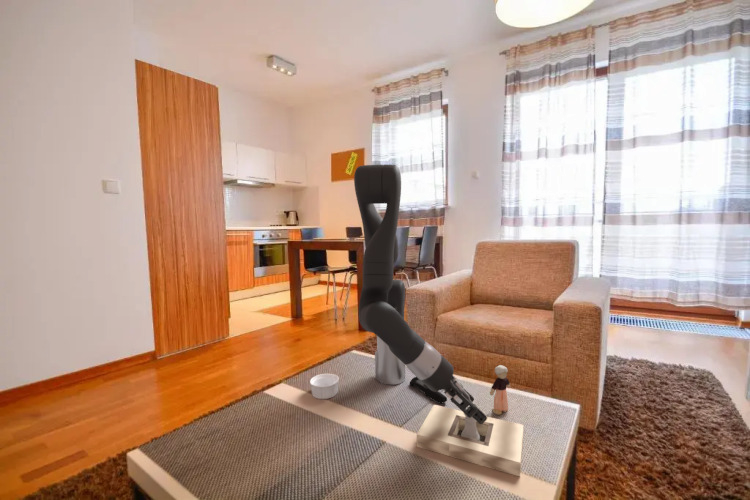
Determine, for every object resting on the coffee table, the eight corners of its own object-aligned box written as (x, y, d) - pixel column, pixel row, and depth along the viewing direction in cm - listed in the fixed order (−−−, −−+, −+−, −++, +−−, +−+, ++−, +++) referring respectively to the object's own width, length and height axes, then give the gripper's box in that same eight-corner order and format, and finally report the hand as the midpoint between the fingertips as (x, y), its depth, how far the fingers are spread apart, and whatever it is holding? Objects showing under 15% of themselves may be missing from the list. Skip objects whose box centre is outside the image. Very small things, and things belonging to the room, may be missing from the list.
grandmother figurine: (500, 418, 88) (501, 372, 87) (487, 412, 91) (487, 367, 90) (514, 407, 93) (515, 363, 92) (501, 402, 96) (502, 359, 95)
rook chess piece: (483, 441, 79) (484, 408, 79) (474, 451, 76) (475, 417, 75) (466, 433, 82) (466, 402, 82) (457, 442, 79) (457, 409, 78)
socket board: (416, 446, 78) (416, 434, 78) (434, 415, 90) (434, 404, 90) (520, 476, 68) (520, 462, 68) (523, 436, 81) (523, 424, 80)
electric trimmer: (439, 409, 94) (440, 398, 94) (408, 385, 108) (408, 376, 107) (450, 405, 96) (450, 395, 96) (418, 382, 110) (418, 373, 109)
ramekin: (304, 397, 101) (304, 383, 101) (320, 384, 109) (319, 371, 109) (330, 403, 98) (329, 388, 97) (344, 389, 106) (344, 375, 106)
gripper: (448, 366, 70) (501, 416, 72) (432, 342, 84) (477, 384, 86) (423, 392, 70) (477, 441, 72) (411, 363, 84) (456, 405, 86)
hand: (477, 410), depth 79 cm, fingers open, 7 cm apart
